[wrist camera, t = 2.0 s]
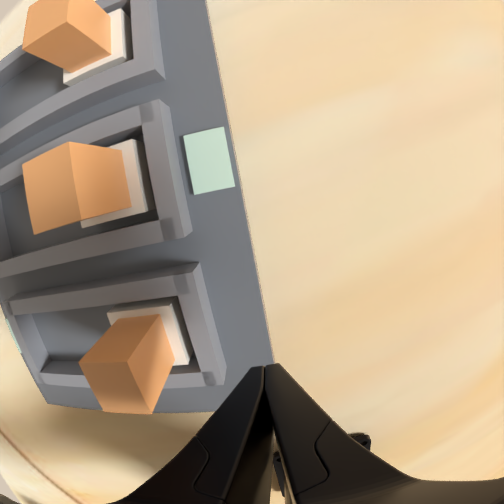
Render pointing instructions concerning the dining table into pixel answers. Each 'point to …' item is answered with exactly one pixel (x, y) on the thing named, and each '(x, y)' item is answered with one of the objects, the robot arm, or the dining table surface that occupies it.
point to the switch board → (139, 225)
